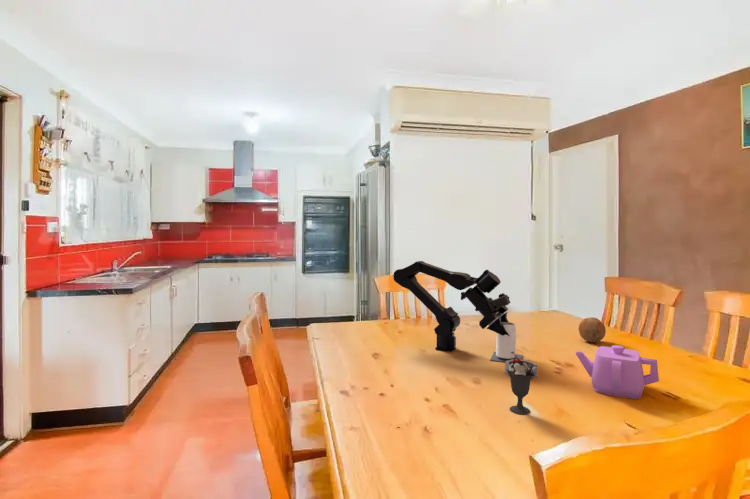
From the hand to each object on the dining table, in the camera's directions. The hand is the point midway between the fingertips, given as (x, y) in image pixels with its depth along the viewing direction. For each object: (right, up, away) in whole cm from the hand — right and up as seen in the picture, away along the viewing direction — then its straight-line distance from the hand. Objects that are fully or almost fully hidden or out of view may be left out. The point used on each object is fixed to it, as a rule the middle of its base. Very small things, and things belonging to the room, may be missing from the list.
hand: (510, 335), depth 146 cm
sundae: (-11, -11, -40) cm, 43 cm away
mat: (-1, -9, +1) cm, 9 cm away
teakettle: (+22, -10, -26) cm, 35 cm away
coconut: (+40, -7, +21) cm, 46 cm away
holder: (-1, -9, -14) cm, 17 cm away
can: (-2, -8, 0) cm, 8 cm away
